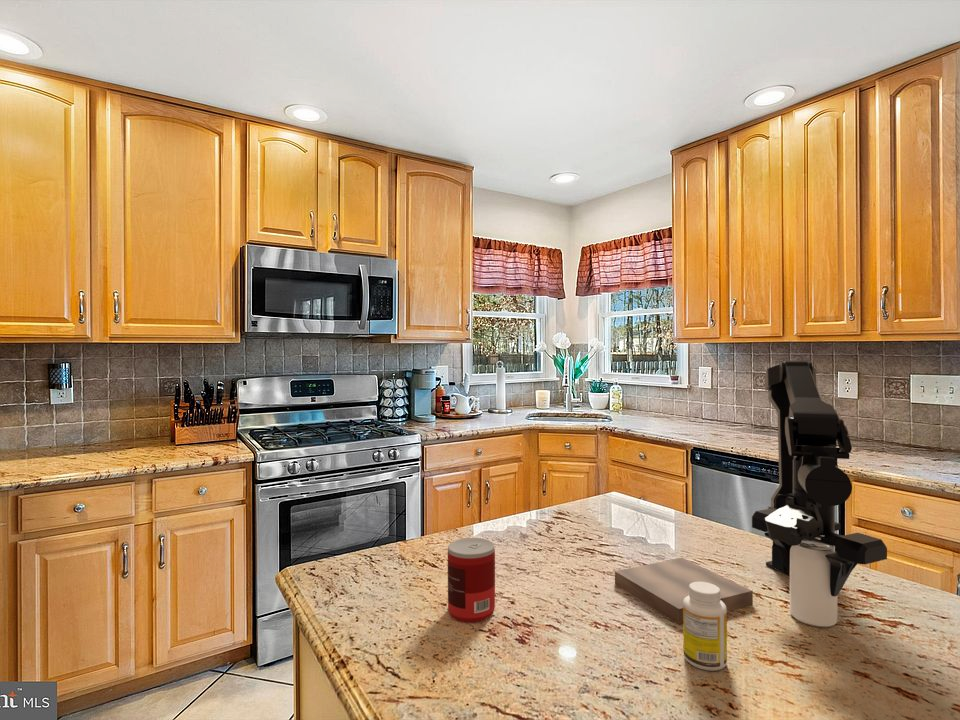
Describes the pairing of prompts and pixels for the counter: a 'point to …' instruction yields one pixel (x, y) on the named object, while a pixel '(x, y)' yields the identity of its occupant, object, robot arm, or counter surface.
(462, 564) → the canned food
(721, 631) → the supplement bottle
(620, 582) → the base
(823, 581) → the can
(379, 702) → the counter surface
